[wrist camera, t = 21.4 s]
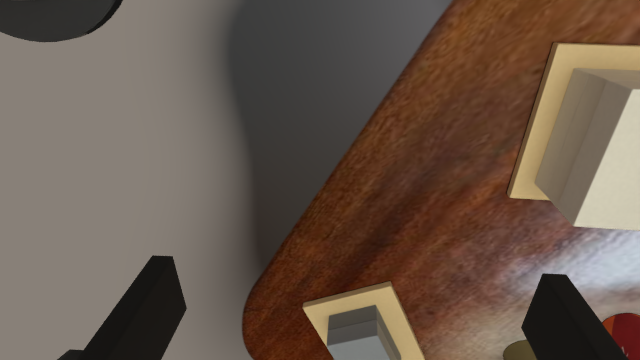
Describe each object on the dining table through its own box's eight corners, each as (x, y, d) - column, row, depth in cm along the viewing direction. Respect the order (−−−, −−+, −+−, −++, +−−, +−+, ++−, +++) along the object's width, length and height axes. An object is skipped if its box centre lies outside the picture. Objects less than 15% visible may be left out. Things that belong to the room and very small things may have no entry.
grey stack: (303, 302, 51) (297, 338, 46) (390, 280, 48) (394, 316, 42) (344, 370, 57) (343, 409, 52) (424, 355, 54) (431, 395, 49)
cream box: (553, 42, 32) (591, 52, 27) (705, 47, 31) (775, 58, 26) (506, 193, 40) (528, 224, 35) (628, 200, 39) (670, 233, 34)
